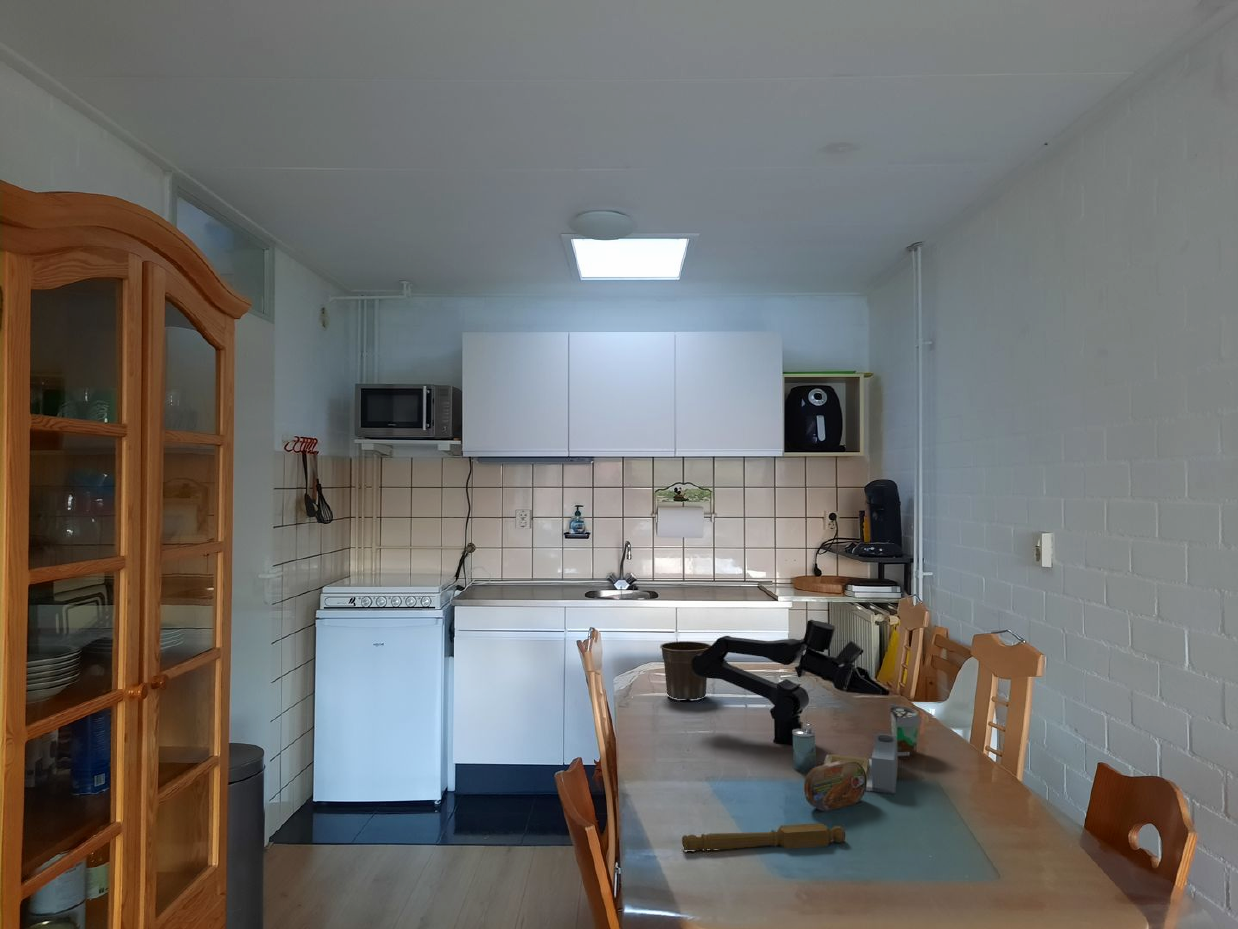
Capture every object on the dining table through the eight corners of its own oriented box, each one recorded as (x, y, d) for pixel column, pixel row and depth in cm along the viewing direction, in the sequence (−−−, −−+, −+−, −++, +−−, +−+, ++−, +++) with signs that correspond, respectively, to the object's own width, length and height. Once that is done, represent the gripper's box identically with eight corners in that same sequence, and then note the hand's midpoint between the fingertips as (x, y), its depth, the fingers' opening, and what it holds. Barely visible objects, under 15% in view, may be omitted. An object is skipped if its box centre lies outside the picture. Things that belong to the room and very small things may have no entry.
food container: (926, 762, 181) (924, 719, 181) (898, 761, 182) (897, 718, 182) (916, 745, 193) (915, 705, 193) (890, 744, 194) (889, 704, 194)
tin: (812, 815, 152) (811, 772, 152) (801, 810, 155) (800, 767, 155) (868, 800, 159) (867, 759, 159) (857, 795, 162) (856, 755, 162)
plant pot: (678, 688, 254) (677, 638, 254) (721, 695, 244) (720, 643, 245) (651, 699, 240) (650, 647, 241) (695, 706, 231) (694, 652, 232)
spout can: (791, 771, 176) (790, 726, 177) (794, 763, 181) (793, 719, 182) (814, 773, 174) (813, 728, 175) (817, 766, 179) (816, 722, 180)
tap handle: (681, 832, 139) (841, 822, 142) (681, 849, 139) (841, 838, 142) (684, 839, 136) (847, 829, 139) (685, 857, 136) (848, 846, 139)
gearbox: (817, 784, 168) (816, 749, 168) (826, 758, 185) (826, 725, 185) (894, 794, 162) (893, 757, 162) (897, 765, 179) (896, 732, 179)
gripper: (824, 633, 186) (888, 658, 177) (844, 639, 201) (903, 663, 193) (809, 677, 185) (872, 704, 176) (830, 680, 200) (889, 705, 192)
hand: (885, 693), depth 184 cm, fingers open, 9 cm apart
